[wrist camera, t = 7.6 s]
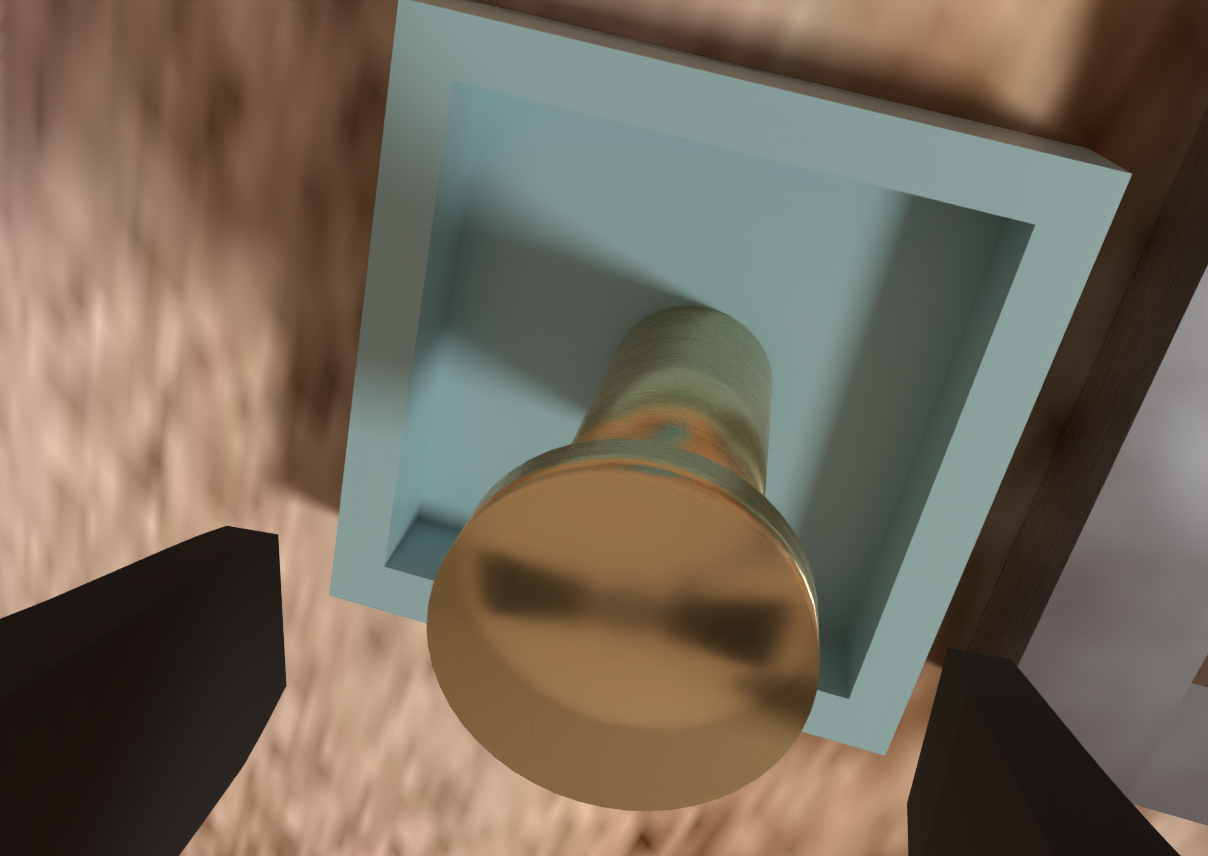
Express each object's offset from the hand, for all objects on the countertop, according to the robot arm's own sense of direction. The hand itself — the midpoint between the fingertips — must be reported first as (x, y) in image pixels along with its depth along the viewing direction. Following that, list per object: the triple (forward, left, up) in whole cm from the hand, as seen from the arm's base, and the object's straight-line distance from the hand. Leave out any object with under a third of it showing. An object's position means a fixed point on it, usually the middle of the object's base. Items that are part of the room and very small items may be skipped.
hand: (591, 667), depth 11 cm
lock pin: (0, 0, -9) cm, 9 cm away
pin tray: (0, 0, -10) cm, 10 cm away
